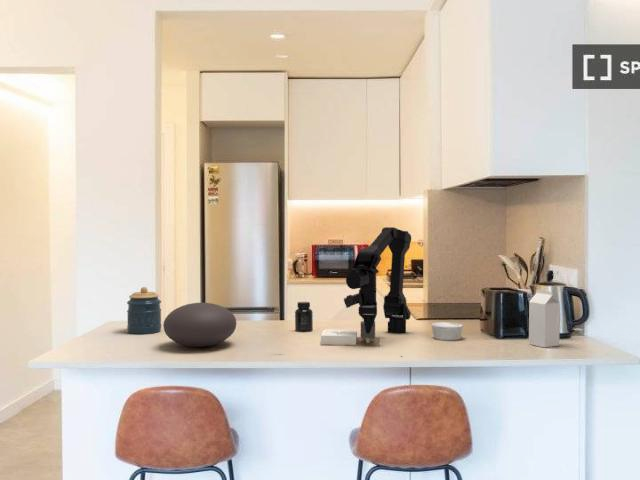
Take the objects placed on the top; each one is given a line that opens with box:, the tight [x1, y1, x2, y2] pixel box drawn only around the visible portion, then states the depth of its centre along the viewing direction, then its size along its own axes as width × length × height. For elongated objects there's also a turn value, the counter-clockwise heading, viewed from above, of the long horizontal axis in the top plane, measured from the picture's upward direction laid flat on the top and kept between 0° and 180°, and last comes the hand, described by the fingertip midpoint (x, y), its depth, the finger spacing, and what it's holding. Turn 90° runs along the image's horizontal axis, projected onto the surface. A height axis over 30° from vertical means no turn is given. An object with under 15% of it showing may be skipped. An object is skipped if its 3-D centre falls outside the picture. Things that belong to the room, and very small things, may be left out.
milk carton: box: [528, 289, 561, 348], centre depth 209 cm, size 7×7×19 cm
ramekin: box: [431, 321, 464, 342], centre depth 222 cm, size 11×11×5 cm
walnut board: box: [319, 336, 381, 348], centre depth 211 cm, size 20×16×1 cm
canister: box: [126, 286, 162, 335], centre depth 236 cm, size 13×13×18 cm
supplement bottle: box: [294, 301, 314, 333], centre depth 233 cm, size 7×7×12 cm
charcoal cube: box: [360, 320, 376, 343], centre depth 210 cm, size 5×5×7 cm
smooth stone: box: [162, 302, 237, 348], centre depth 209 cm, size 25×25×15 cm
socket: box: [320, 329, 358, 345], centre depth 211 cm, size 12×12×3 cm
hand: (368, 330), depth 211 cm, fingers open, 9 cm apart
